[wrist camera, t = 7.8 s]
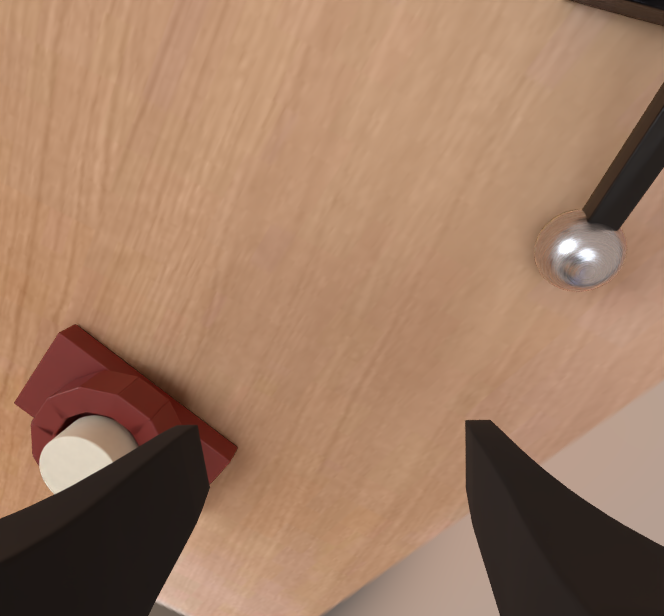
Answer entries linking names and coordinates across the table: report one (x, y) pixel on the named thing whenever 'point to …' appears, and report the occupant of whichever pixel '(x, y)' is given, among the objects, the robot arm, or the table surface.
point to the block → (106, 398)
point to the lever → (604, 212)
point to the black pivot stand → (632, 8)
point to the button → (83, 450)
